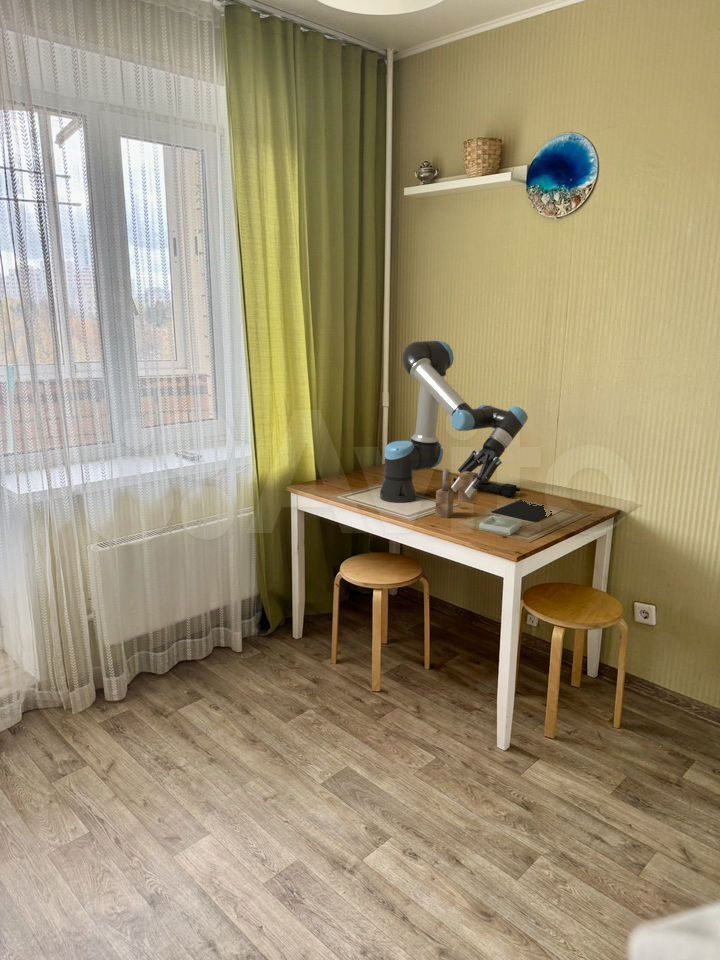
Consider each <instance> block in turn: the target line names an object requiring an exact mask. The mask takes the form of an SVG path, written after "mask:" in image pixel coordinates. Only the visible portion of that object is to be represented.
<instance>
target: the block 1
mask: <svg viewBox="0 0 720 960" xmlns="http://www.w3.org/2000/svg"><path fill="white" fill-rule="evenodd" d="M449 473H450V469H448V468H447V469H442V486H441V487H442V488H440V489H437V490H435V510H434V511H435V513H434V515H435V517H438V516H439V517H438V518H445V519H448V518H449V517H451V515H452V516H453V512H454V511H453V510H454V493H455V491H454V490H453V489H452V488H451V489H449V480H450V479H449V478H450V476H449V475H450V474H449Z"/></svg>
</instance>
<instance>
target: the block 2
mask: <svg viewBox="0 0 720 960" xmlns="http://www.w3.org/2000/svg"><path fill="white" fill-rule="evenodd" d="M459 475H460V476H459ZM459 475H458V476H459V489H458V491H457V492H458V494H457V496H458V497H457V501H459V502H462V503H463V502H464V503H468V504H472V503H474V502H475V501H477V497H478V496H477V494H478V493H477V492H478V489H475V491H474V492H473V493H472V495H471V496H470V497H468V496H467V495H466V494H465V491H466V490H467V488H468V487H469V486H470V484H471V483H472V482H473V480H474V479H475V478H476V479H477V476H478V475H479V472H474V471H472V472H468V471H464V472H462V473H460V472H459ZM477 480H478V479H477Z"/></svg>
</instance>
